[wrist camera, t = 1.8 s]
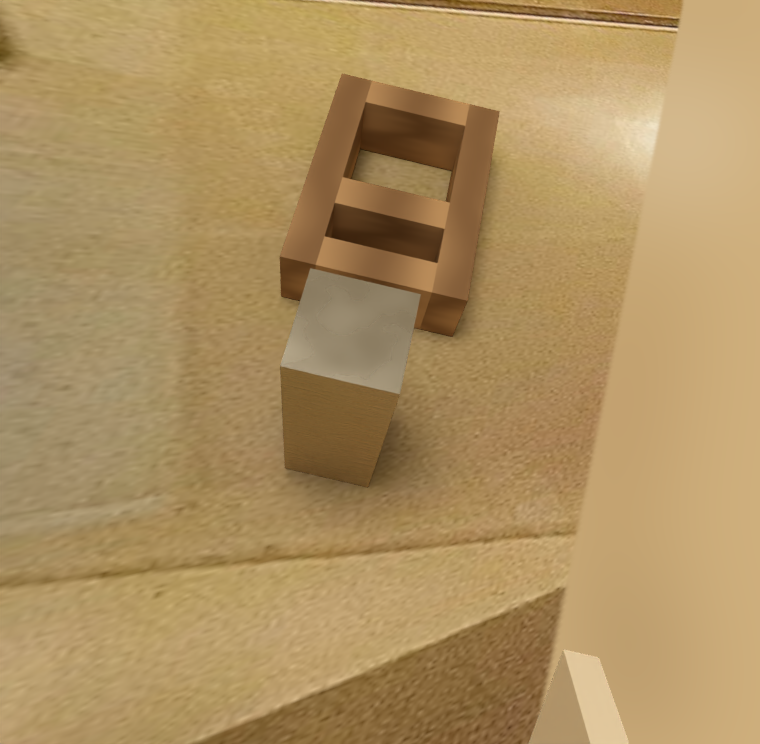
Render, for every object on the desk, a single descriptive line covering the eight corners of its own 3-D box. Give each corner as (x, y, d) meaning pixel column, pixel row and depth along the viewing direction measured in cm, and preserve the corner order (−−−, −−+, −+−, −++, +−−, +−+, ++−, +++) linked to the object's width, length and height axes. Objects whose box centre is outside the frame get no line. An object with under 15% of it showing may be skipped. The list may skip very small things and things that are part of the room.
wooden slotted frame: (281, 296, 39) (279, 256, 36) (338, 121, 46) (341, 73, 43) (452, 336, 40) (467, 300, 36) (483, 156, 46) (499, 111, 43)
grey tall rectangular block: (284, 468, 35) (280, 366, 24) (306, 392, 37) (310, 268, 26) (368, 487, 35) (399, 394, 24) (384, 411, 37) (420, 294, 26)
